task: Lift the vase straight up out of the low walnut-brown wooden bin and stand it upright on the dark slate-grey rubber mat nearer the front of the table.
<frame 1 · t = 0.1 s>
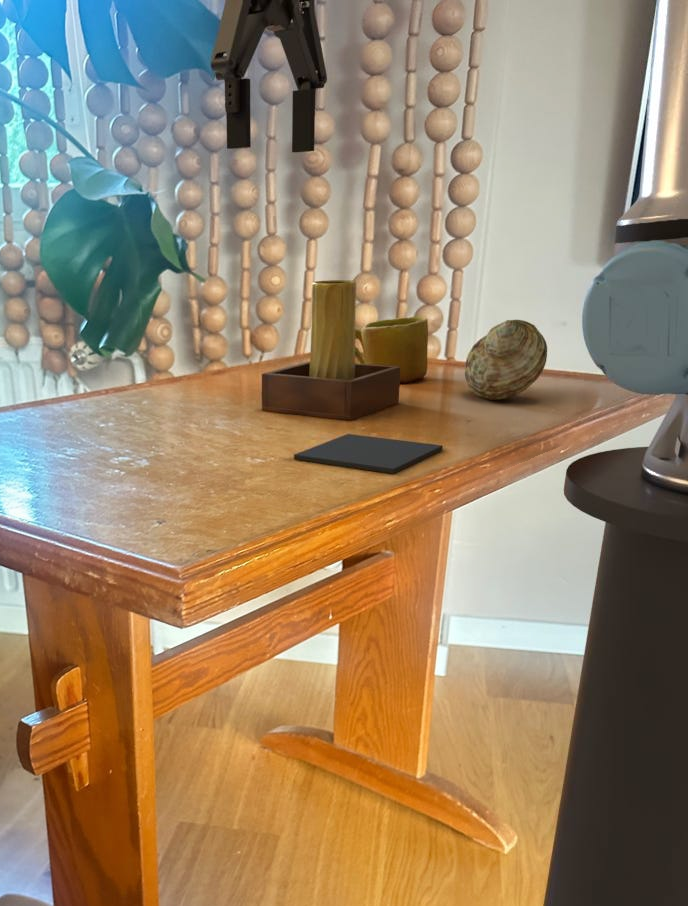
hand: (272, 150, 107), 29 cm above the table, tool pointing down, fingers open, 13 cm apart
bin: (330, 406, 116), on the table
mat: (368, 454, 93), on the table
vase: (330, 404, 116), resting on bin
seashell: (500, 398, 119), on the table
mug: (382, 380, 134), on the table
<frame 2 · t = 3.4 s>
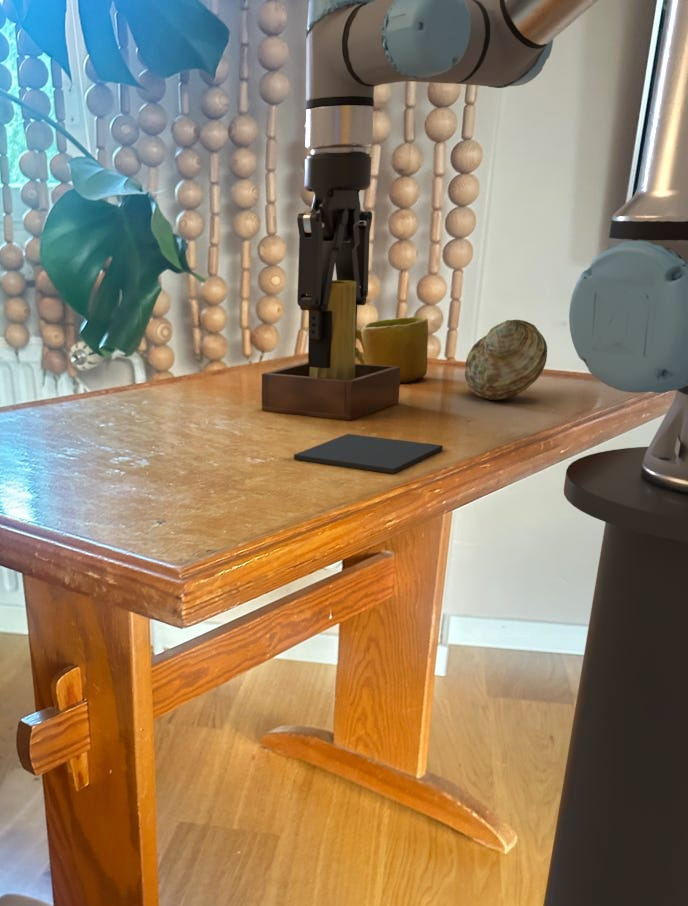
hand: (331, 363, 114), 5 cm above the table, tool pointing down, fingers closed on vase, 5 cm apart
vase: (331, 404, 116), resting on bin, touching gripper
everything else where it was.
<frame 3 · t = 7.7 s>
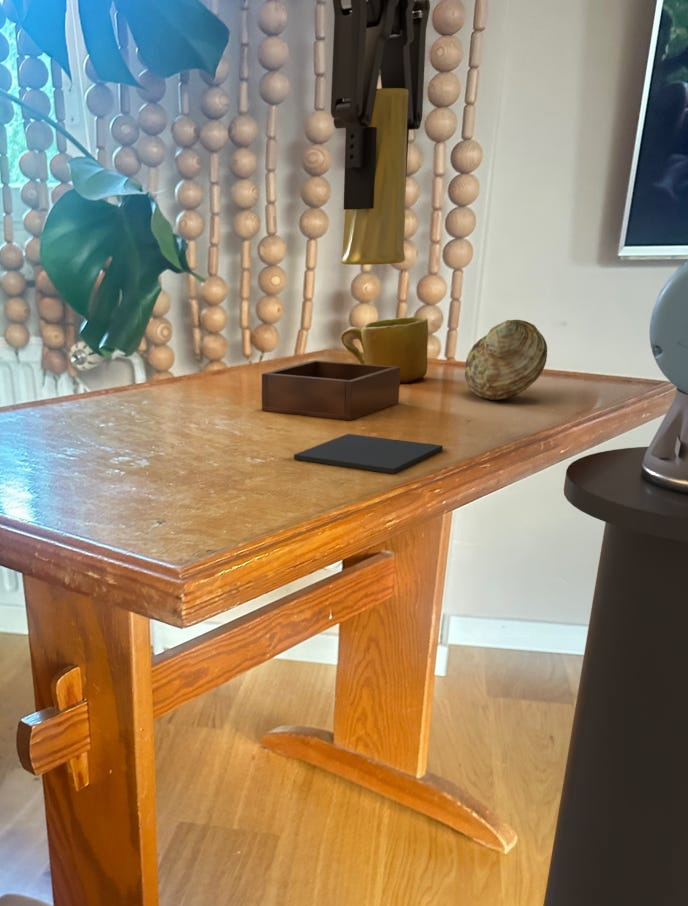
hand: (374, 208, 86), 23 cm above the table, tool pointing down, fingers closed on vase, 5 cm apart
vase: (372, 265, 89), point 18 cm above the table, touching gripper
everything else where it was.
when the fingers open (5 cm above the table, at t = 12.1 s): vase stays where it is, resting on mat.
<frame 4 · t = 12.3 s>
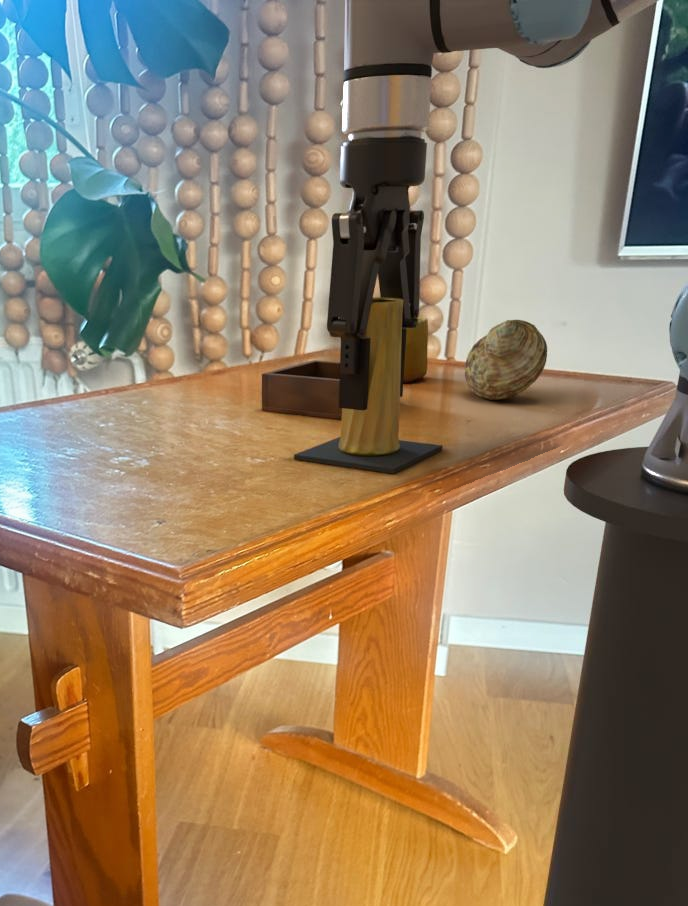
hand: (371, 401, 91), 5 cm above the table, tool pointing down, fingers open, 7 cm apart
vase: (368, 451, 93), resting on mat
everything else where it was.
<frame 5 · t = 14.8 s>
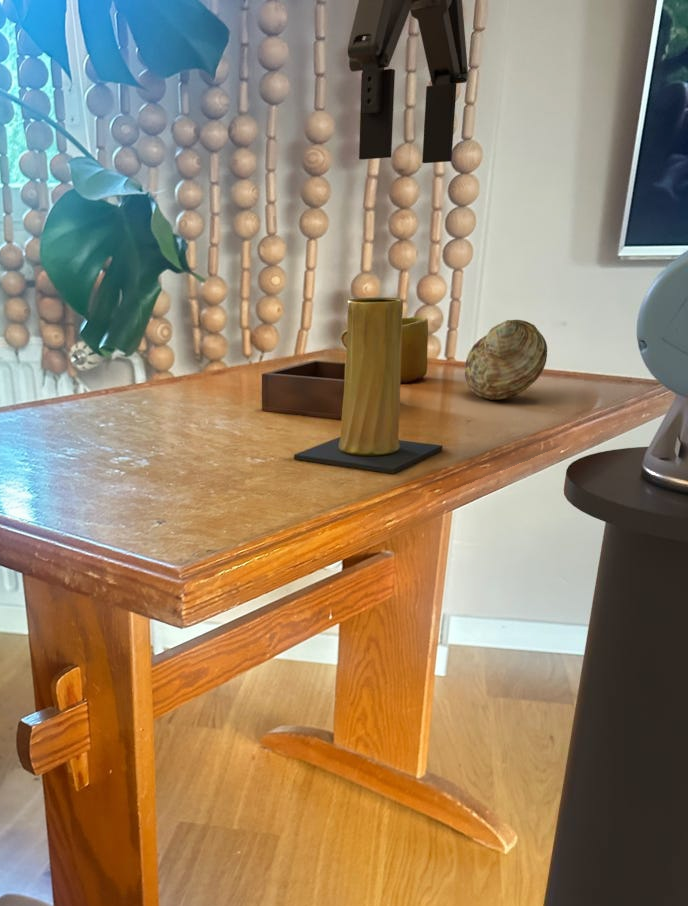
hand: (407, 161, 85), 26 cm above the table, tool pointing down, fingers open, 13 cm apart
nothing on the table moved.
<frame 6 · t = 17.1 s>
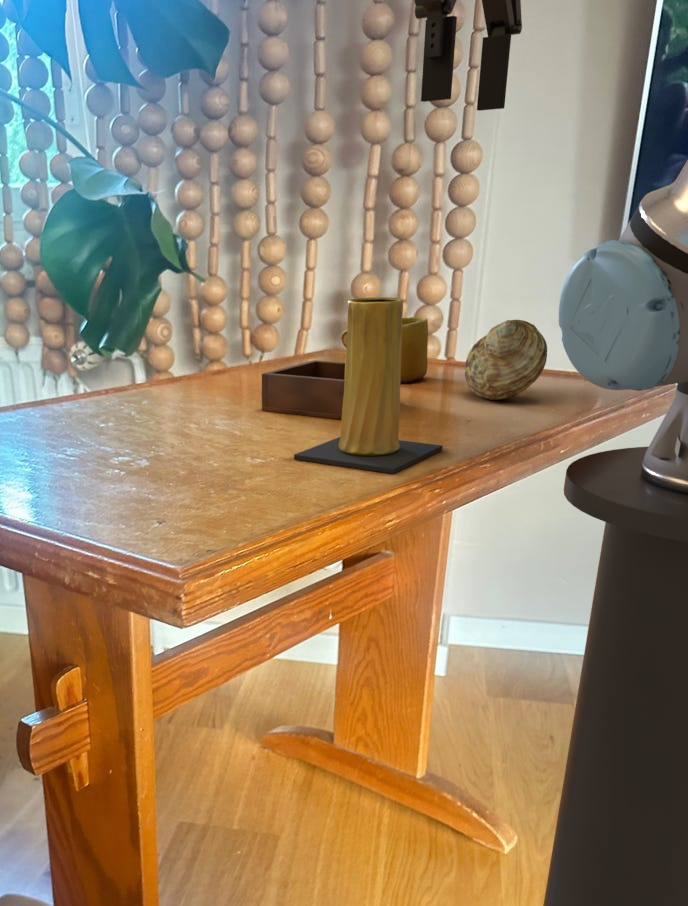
hand: (464, 105, 92), 32 cm above the table, tool pointing down, fingers open, 13 cm apart
nothing on the table moved.
at the end: vase inside the target area on the mat (0.1 cm from its centre), point 0.3 cm above the mat's base; vase tilted 0°; vase touching mat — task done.
